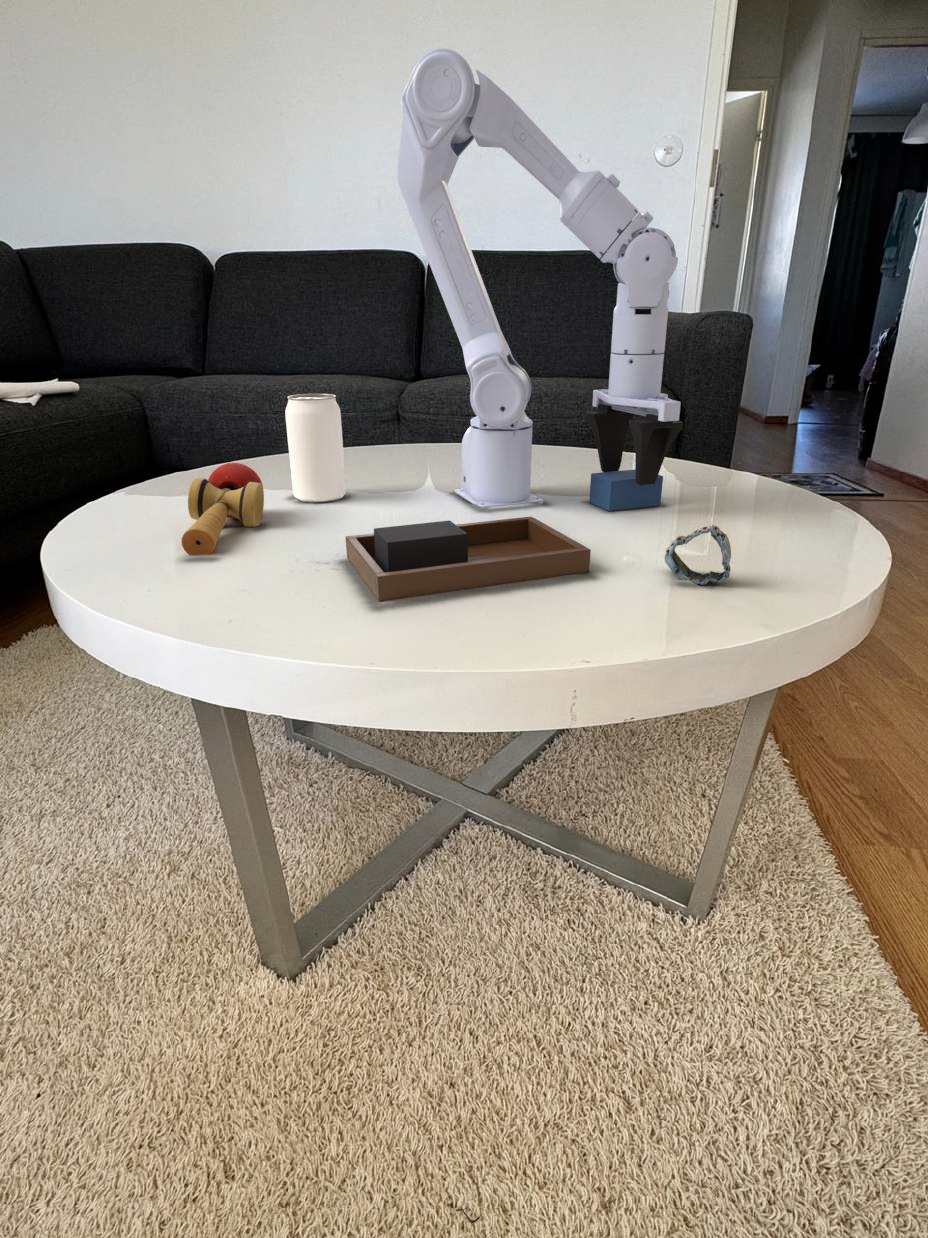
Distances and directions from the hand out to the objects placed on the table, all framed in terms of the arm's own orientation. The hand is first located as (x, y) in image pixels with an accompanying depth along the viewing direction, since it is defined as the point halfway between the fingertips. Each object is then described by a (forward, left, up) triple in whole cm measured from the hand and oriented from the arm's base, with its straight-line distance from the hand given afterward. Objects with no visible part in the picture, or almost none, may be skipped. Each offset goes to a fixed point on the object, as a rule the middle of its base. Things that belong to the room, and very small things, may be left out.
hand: (627, 477), depth 84 cm
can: (-17, -33, -3) cm, 37 cm away
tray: (+15, -26, -3) cm, 30 cm away
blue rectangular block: (0, 0, -3) cm, 3 cm away
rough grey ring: (+25, -9, -3) cm, 27 cm away
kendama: (-5, -45, -3) cm, 45 cm away
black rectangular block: (+15, -30, -3) cm, 34 cm away
